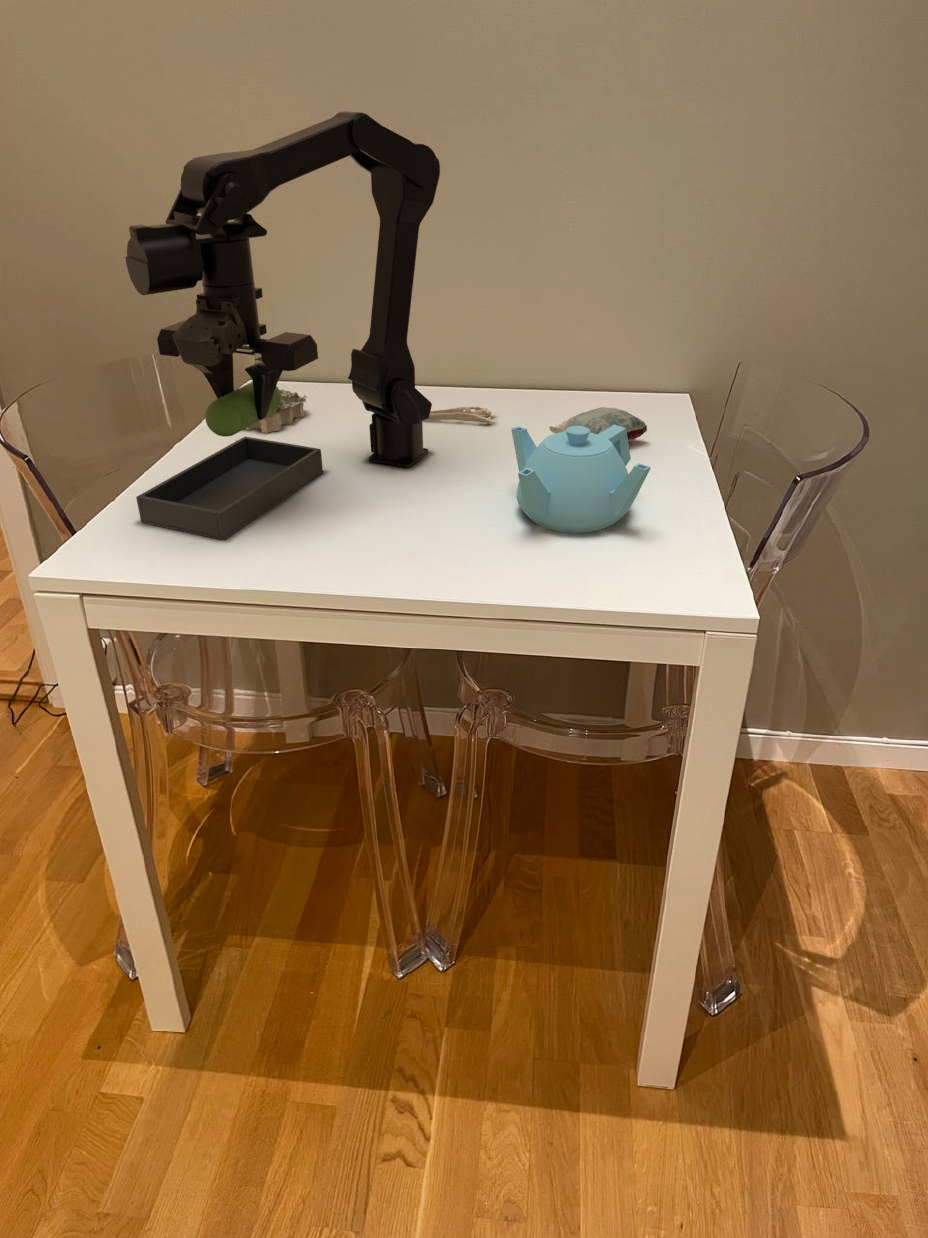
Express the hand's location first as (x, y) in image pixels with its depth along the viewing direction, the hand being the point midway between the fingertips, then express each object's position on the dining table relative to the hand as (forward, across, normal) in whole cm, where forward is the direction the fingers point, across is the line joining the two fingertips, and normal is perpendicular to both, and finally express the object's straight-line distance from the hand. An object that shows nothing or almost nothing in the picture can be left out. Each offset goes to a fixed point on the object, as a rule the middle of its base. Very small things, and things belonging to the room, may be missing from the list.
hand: (245, 416), depth 114 cm
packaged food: (+11, +34, +36) cm, 51 cm away
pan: (+11, -3, 0) cm, 11 cm away
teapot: (+11, +38, +12) cm, 41 cm away
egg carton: (+11, -15, +26) cm, 32 cm away
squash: (+1, 0, 0) cm, 1 cm away
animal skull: (+11, +8, +36) cm, 39 cm away
